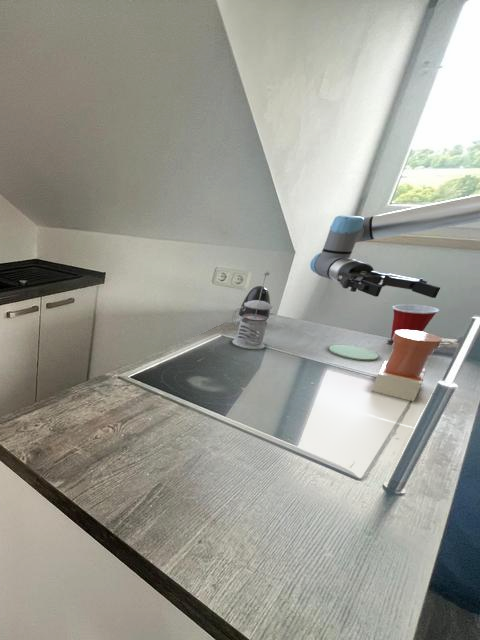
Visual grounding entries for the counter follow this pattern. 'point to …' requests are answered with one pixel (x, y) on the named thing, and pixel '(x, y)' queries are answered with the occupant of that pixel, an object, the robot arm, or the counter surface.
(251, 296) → the black rounded piece
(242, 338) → the french press
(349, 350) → the mat
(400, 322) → the plastic cup
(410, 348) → the terracotta pot
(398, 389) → the box with red stripes
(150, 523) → the counter surface
